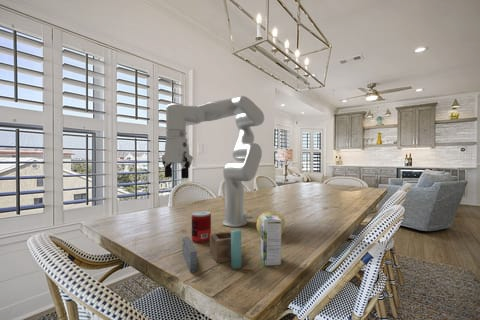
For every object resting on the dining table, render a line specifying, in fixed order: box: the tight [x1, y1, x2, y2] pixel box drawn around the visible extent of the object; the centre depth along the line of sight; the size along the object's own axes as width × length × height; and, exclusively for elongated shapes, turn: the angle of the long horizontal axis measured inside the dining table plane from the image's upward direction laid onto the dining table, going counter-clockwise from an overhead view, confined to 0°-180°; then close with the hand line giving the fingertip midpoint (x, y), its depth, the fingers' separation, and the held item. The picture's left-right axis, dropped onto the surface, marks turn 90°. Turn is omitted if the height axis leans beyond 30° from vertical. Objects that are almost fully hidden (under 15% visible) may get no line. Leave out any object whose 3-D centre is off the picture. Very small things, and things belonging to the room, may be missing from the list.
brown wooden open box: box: [209, 230, 231, 264], centre depth 79 cm, size 8×8×7 cm
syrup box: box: [260, 215, 282, 267], centre depth 75 cm, size 6×6×14 cm
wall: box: [182, 236, 198, 274], centre depth 75 cm, size 2×14×6 cm, turn 23°
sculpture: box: [256, 211, 286, 237], centre depth 99 cm, size 12×12×11 cm
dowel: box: [230, 229, 242, 270], centre depth 72 cm, size 3×3×11 cm
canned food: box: [191, 210, 212, 244], centre depth 96 cm, size 8×8×11 cm
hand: (176, 177), depth 94 cm, fingers open, 9 cm apart
